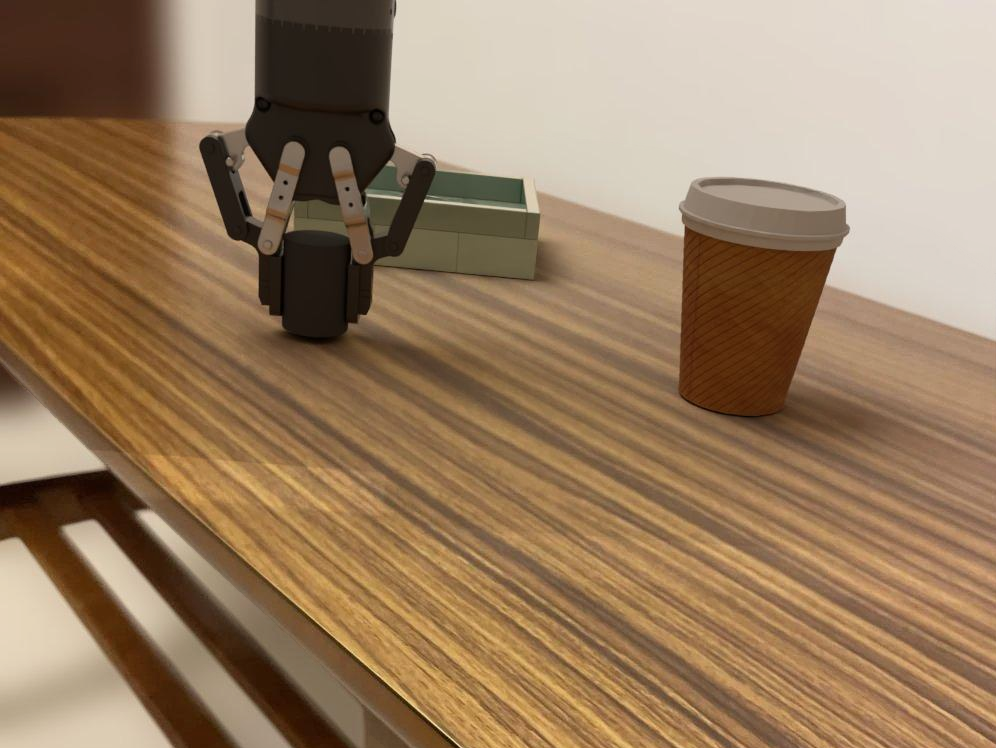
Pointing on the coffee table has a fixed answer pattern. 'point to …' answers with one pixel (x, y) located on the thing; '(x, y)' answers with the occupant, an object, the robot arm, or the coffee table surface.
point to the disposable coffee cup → (751, 287)
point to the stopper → (315, 283)
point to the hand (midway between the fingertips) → (315, 315)
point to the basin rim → (451, 204)
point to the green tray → (449, 245)
